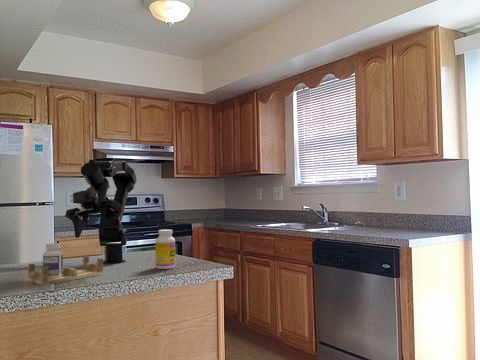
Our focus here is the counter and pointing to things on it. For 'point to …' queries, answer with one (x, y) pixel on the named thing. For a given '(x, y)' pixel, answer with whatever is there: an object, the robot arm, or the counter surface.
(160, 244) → the supplement bottle
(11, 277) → the counter surface
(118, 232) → the robot arm
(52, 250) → the pill bottle
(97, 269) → the rack
